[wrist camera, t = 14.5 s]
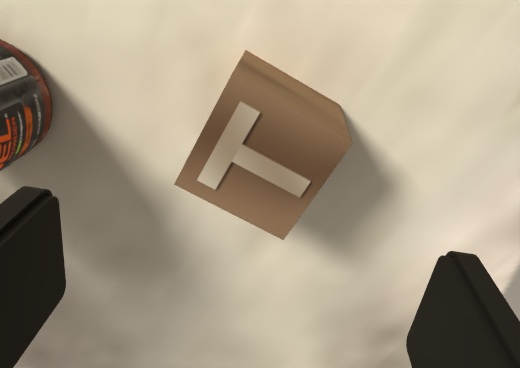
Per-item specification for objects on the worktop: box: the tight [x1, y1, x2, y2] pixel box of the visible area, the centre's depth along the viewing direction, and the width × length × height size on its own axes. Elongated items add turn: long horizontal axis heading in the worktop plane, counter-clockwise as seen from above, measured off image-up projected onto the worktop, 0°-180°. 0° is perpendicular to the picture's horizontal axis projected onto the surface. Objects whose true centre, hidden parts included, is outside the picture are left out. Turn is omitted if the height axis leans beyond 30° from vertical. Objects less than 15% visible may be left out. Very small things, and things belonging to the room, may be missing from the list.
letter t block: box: [174, 50, 353, 240], centre depth 19 cm, size 5×5×5 cm
